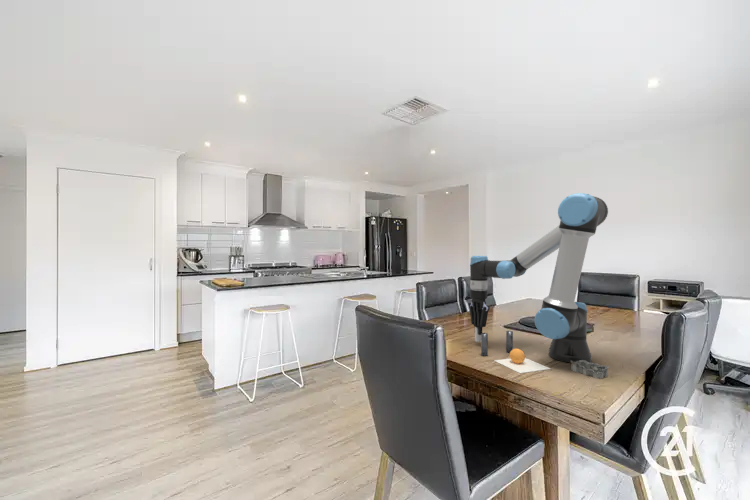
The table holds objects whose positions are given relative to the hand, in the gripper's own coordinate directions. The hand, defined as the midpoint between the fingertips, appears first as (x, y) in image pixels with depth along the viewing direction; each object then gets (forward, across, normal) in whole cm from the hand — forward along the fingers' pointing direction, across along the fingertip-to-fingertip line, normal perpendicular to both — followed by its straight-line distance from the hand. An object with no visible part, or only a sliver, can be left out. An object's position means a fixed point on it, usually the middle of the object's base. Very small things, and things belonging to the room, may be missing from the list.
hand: (478, 341), depth 154 cm
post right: (+2, +13, +6) cm, 15 cm away
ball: (-1, +25, 0) cm, 25 cm away
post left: (+2, +13, -6) cm, 15 cm away
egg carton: (+2, +41, +17) cm, 44 cm away
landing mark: (+2, +27, 0) cm, 27 cm away
